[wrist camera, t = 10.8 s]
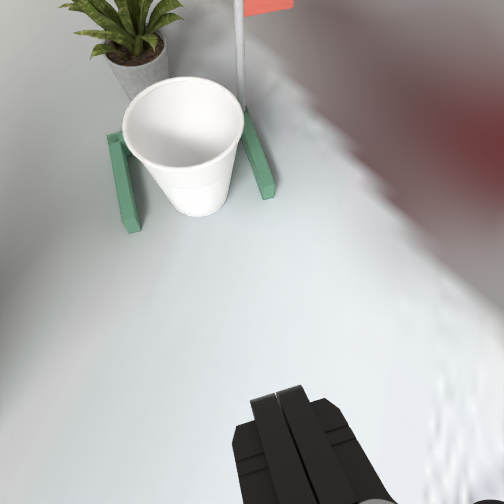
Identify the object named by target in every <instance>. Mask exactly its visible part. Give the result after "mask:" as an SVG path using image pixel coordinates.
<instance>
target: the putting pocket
mask: <svg viewBox="0 0 504 504" xmlns="http://www.w3.org/2000/svg"><path fill="white" fill-rule="evenodd" d="M293 3H294V0H234V17H235V42H236V67H237V92H238V102H239V103H240V105H241V108H242V111H243V114H244V128H243V133H242V135H241V139H242V142H243V144H244V147H245V150H246V153H247V156H248V159H249V162H250V164H251V167H252V170H253V173H254V176H255V179H256V182H257V184H258V187H259V190H260V193H261V196H262V199H263V200H266V199H270V198H274V191H275V182H274V180H273V177H272V174H271V172H270V169H269V166H268V164H267V161H266V158H265V156H264V153H263V150H262V147H261V145H260V142H259V139H258V137H257V134H256V131H255V129H254V126H253V123H252V121H251V118H250V115H249V113H248V110H247V107H246V105H245V54H244V17H247V16H252V15H257V14H262V13H268V12H272V11H277V10H283V9H288V8H293ZM107 140H108V145H109V151H110V157H111V162H112V168H113V173H114V179H115V185H116V190H117V196H118V202H119V207H120V213H121V219H122V222H123V224H124V226H125V227H126V229H127V230H128V232H129V233H133V232H137V231H141V227H140V222H139V217H138V212H137V207H136V202H135V197H134V192H133V187H132V182H131V177H130V172H129V167H128V162H127V157H126V156H129V155H133V153H132V152H131V151H130V150H129V148H128V147H127V144H126V142H125V140H124V137H123V132H119V133H114V134H110V135H107Z"/></svg>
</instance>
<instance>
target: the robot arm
mask: <svg viewBox="0 0 504 504" xmlns="http://www.w3.org/2000/svg"><path fill="white" fill-rule="evenodd" d="M276 396H277V398H276ZM250 404H251V408H252V412H253V416H254V421H251V422H247V423H244V424H241V425H238V426H236V430H235V433H234V437H233V441H232V447H233V452H234V457H235V462H236V467H237V472H238V477H239V483H240V488H241V493H242V498H243V503H244V504H398V503H396V502H395V501H394V500H393V499H392V497H391V496H390V495H389V494H388V492H387V491H386V489H385V487H384V485H383V484H382V482H381V480H380V478H379V477H378V475H377V473H376V472H375V470H374V468H373V466H372V465H371V463H370V461H369V459H368V458H367V456H366V454H365V452H364V451H363V449H362V447H361V445H360V444H359V442H358V441H357V440H356V437H355V435H354V433H353V432H352V430H351V428H349V425H348V423H347V421H346V419H345V418H344V416H343V414H342V413H341V411H340V409H339V408H338V407H336V406H335V405H334V404H332V403H331V402H330V401H328V400H327V399H326V398H323V399H320V400H316V401H313V402H309V400H308V398H307V395H306V393H305V391H304V389H303V387H302V386H301V385H298V386H295V387H292V388H288V389H285V390H282V391H279V392H276V395H275V393H273V394H269V395H266V396H263V397H260V398H256V399H253V400H250ZM474 504H504V502H503V501H499V500H482V501H478V502H476V503H474Z"/></svg>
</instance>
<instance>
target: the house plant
mask: <svg viewBox="0 0 504 504" xmlns="http://www.w3.org/2000/svg"><path fill="white" fill-rule="evenodd" d="M72 1H73V2H74V3H73V4H63V5H62V6H60V7H58V8H61V7H68V6H70V8H69V10H73V11H79V12H83V13H86V14H87V15H88V16H89V17H90V18H91V19H92V20H93V21H94V22H95V23H97V24H98V25H99V26H101V27H102V28H103V29H104V30H105V31H98V30H83V31H79V32H75V34H78V35H89V36H92V37H95V38H98V39H104V40H103V41H102V44H97V45H96V46H95V47H94V49H93V52H92V55H91V58H92V57H93V56H97V55H101V54H103V56H104V58H105V59H106V61H107V63H108V64H109V66H110V68H111V69H112V71H113V73H114V74H115V76H116V77H117V79H118V81H119V82H120V84H121V86H122V87H123V89H124V91H125V92H126V94H127V96H128V97H129V99H130V100H131V101H132V100H133V99H134V98H135V97H136V96H137V95H138V94H139V93H140V92H142V91H143V90H144V89H146V88H147V87H149V86H151V85H153V84H155V83H157V82H160V81H162V80H165V79H169V69H168V45H167V39H166V36H165V34H164V33H163V31H162V30H160V29H159V28H161V27H163V26H165V25H167V24H169V23H171V22H173V21H175V20H177V19H182V18H181V17H179V16H178V15H176V14H174V13H165V12H167V11H170V10H172V9H175V8H177V7H180V6H181V7H183V5H182V4H181V3H180V2H179V1H178V0H161V1H160V2H159V3H158V4H157V5H156V7H155V8H154V10H153V12H152V13H151V16H150V19H149V23H146V22H145V20H146V17H147V13H148V10H149V8H150V5H151V3H152V1H153V0H114V1H115V3H116V5H117V7H118V9H119V10H118V13H117V12H116V11H115V9H114V8H113V7H112V6H111V5H110V4H109V3H108V2H106V1H105V0H72ZM164 13H165V14H164ZM162 14H163V15H162ZM183 20H184V19H183ZM91 58H90V59H91Z"/></svg>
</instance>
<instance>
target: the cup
mask: <svg viewBox="0 0 504 504" xmlns="http://www.w3.org/2000/svg"><path fill="white" fill-rule="evenodd" d="M243 128H244V114H243V111H242V108H241V105H240V103H239V102H238V100H237V99H236V97H235V96H234V95H233V94H232V93H231V92H230V91H229V90H228V89H226V88H225V87H223V86H222V85H220V84H218V83H216V82H214V81H211V80H208V79H204V78H200V77H191V76H185V77H174V78H169V79H165V80H162V81H160V82H157V83H155V84H153V85H151V86H149V87H147V88H146V89H144V90H143V91H142V92H140V93H139V94H138V95H137V96H136V97H135V98H134V99H133V100H132V101H131V103H130V104H129V106H128V108H127V109H126V112H125V115H124V118H123V125H122V131H123V137H124V140H125V142H126V144H127V147H128V148H129V150H130V151H131V152H132V153H133V155H134V156H135V157H137V158H138V159H139V160H140V161H141V162H142V163H143V164H144V166H145V167H146V169H147V170H148V171H149V172H150V174H151V175H152V177H153V178H154V179H155V181H156V182H157V183H158V185H159V186H160V188H161V189H162V190H163V192H164V193H165V194H166V196H167V197H168V199H169V200H170V201H171V203H172V204H173V205H174V207H175V208H176V209H177V210H178V211H180V212H181V213H183V214H185V215H188V216H194V217H202V216H206V215H209V214H212V213H214V212H215V211H217V210H218V209H219V208H220V207H221V206H222V205H223V204H224V202H225V201H226V198H227V195H228V190H229V185H230V179H231V175H232V170H233V165H234V159H235V155H236V150H237V145H238V142H239V140H240V137H241V135H242V133H243Z"/></svg>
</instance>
